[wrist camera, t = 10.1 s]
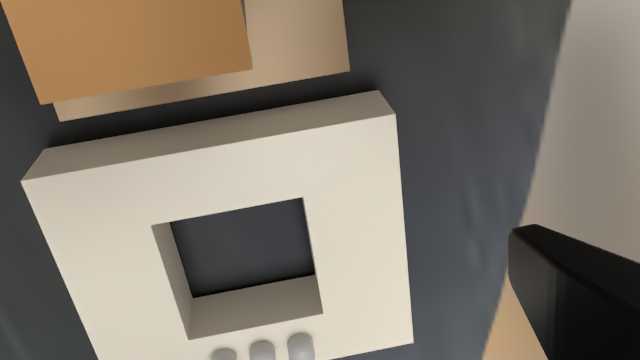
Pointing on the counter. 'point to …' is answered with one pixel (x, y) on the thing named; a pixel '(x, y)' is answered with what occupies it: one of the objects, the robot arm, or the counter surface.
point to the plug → (125, 43)
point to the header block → (224, 195)
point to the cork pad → (266, 51)
